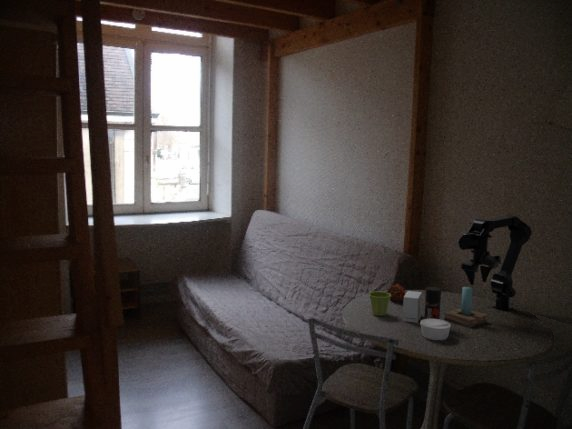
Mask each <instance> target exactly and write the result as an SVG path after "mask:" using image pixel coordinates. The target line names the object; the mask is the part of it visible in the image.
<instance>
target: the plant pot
mask: <svg viewBox="0 0 572 429" xmlns="http://www.w3.org/2000/svg"><path fill="white" fill-rule="evenodd" d="M386 292H387V291H371V292H369V293H368V295H369V298H370V303H371V311H372V312H371V313H372V315H374V316H379V317H381V316H386V315H387V314H388V308H389V304H390V303H389V301H390V300H391V299H390V297H391V294H389V293H386Z"/></svg>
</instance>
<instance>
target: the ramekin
mask: <svg viewBox="0 0 572 429" xmlns="http://www.w3.org/2000/svg"><path fill="white" fill-rule="evenodd" d="M419 323H420V324H419V325H420V329H421V335H422V337H424V338H425V339H427V340H430V339H431V340H432V341H437V340H440V341H445V340H447V339H448V337H449V333H450V331H451V323H449V321H447V320H444V319H440V320H439V319H420V322H419ZM431 340H430V341H431Z"/></svg>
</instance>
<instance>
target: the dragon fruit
mask: <svg viewBox="0 0 572 429" xmlns="http://www.w3.org/2000/svg"><path fill="white" fill-rule="evenodd" d="M385 292H386V293H389V294H391V297H390V299H389V300H391V301H393V302H396V303H398V302H400V301H403V300H404V296H405V294H406V289H405V287H404V286H401V284H399V283H395V284H393V285H390V286H389V287H388V289H387V290H386V291H385Z"/></svg>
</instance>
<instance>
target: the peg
mask: <svg viewBox="0 0 572 429" xmlns="http://www.w3.org/2000/svg"><path fill="white" fill-rule="evenodd" d="M473 290H474V289H473V288H472V286H471V287H470V286H462V291H461V292H462V293H461V307H460V308H461V315H464V316H467V317H469V316H471V311H472V308H473V307H472V305H473V304H472V303H473Z"/></svg>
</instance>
